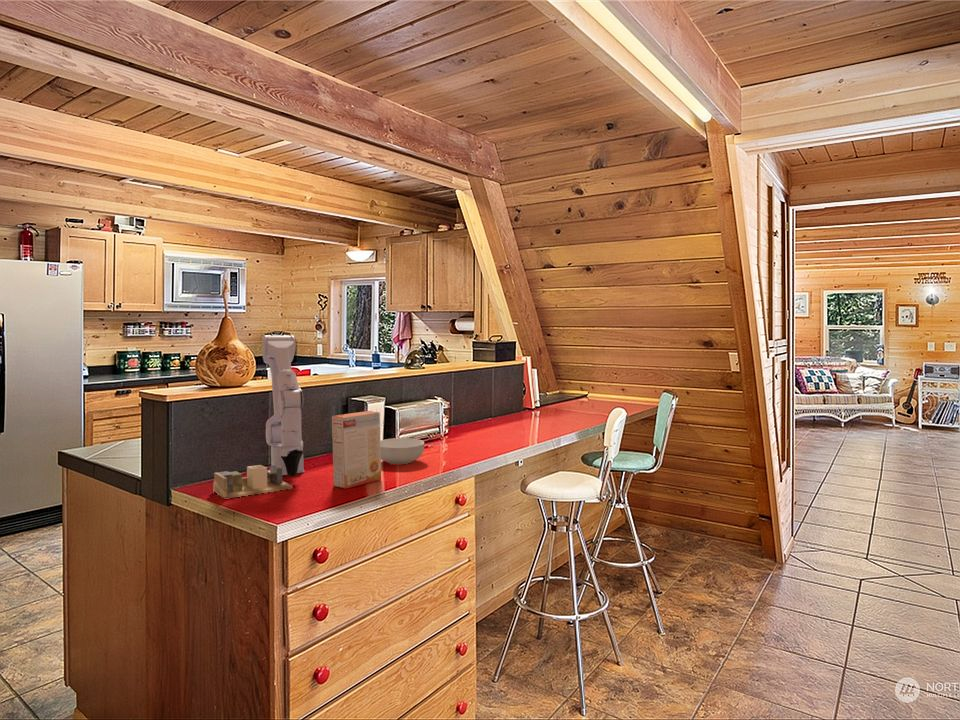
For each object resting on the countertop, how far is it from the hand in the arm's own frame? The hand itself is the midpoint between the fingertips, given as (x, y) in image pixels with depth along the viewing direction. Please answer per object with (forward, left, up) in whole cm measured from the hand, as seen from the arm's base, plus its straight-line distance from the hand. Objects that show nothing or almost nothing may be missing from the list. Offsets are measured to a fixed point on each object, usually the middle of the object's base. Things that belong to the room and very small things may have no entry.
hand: (292, 475), depth 189 cm
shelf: (+12, +1, -2) cm, 12 cm away
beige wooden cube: (+10, 0, -2) cm, 10 cm away
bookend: (+5, 0, -1) cm, 5 cm away
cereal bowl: (-40, -5, -3) cm, 41 cm away
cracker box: (-15, +12, -2) cm, 20 cm away
